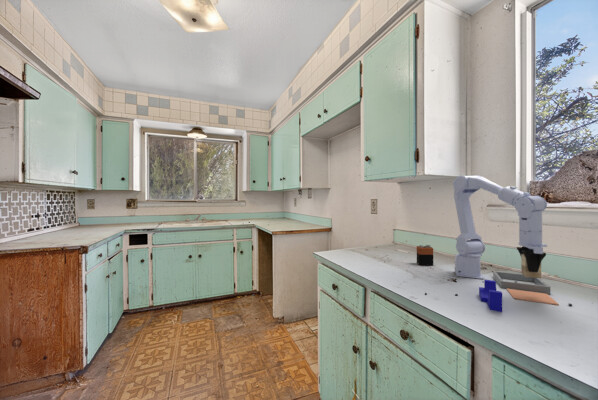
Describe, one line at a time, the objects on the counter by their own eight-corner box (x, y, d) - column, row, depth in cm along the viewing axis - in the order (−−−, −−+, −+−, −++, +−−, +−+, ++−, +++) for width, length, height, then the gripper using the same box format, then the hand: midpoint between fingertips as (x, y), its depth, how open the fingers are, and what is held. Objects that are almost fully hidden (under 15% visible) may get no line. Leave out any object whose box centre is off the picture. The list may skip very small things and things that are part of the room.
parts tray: (501, 287, 91) (501, 281, 91) (493, 276, 103) (493, 271, 103) (550, 294, 85) (550, 287, 85) (535, 281, 97) (535, 275, 97)
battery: (433, 265, 121) (433, 246, 120) (419, 265, 121) (419, 246, 121) (430, 263, 125) (429, 244, 125) (416, 263, 126) (416, 244, 126)
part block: (525, 276, 82) (525, 256, 82) (521, 273, 86) (521, 253, 86) (541, 278, 80) (541, 257, 80) (536, 274, 84) (536, 254, 84)
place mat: (513, 298, 82) (513, 297, 82) (506, 289, 90) (506, 288, 90) (558, 305, 77) (558, 304, 77) (546, 294, 84) (546, 293, 84)
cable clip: (479, 295, 86) (479, 278, 86) (495, 297, 83) (495, 280, 83) (483, 309, 75) (483, 290, 75) (502, 312, 73) (502, 293, 73)
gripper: (556, 234, 74) (556, 278, 75) (537, 228, 87) (537, 265, 87) (526, 233, 78) (526, 274, 78) (512, 227, 91) (512, 263, 91)
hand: (530, 269), depth 83 cm, fingers closed on part block, 4 cm apart
